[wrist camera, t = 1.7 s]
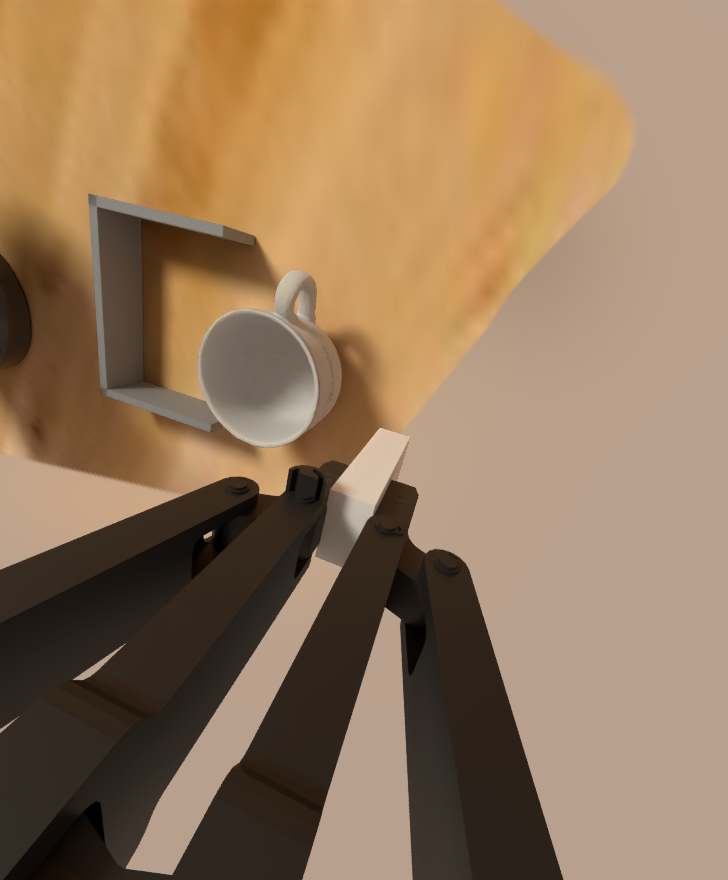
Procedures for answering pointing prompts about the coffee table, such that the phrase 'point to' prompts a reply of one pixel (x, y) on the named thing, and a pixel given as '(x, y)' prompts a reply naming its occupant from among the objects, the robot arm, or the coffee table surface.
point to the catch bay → (136, 306)
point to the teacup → (271, 368)
